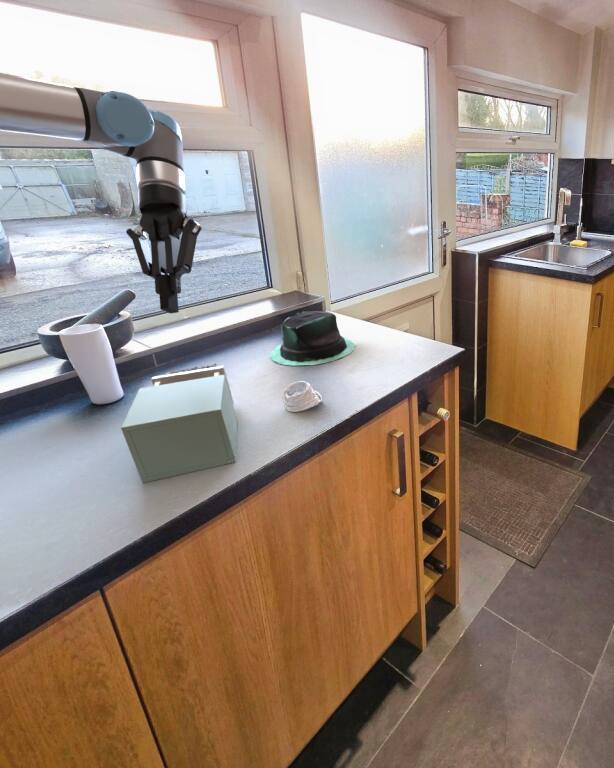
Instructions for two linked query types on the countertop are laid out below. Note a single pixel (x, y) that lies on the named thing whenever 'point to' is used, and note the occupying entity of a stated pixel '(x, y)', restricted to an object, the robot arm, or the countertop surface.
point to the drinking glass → (93, 361)
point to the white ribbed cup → (300, 397)
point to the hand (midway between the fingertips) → (169, 310)
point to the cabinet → (181, 428)
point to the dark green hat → (311, 340)
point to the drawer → (191, 376)
